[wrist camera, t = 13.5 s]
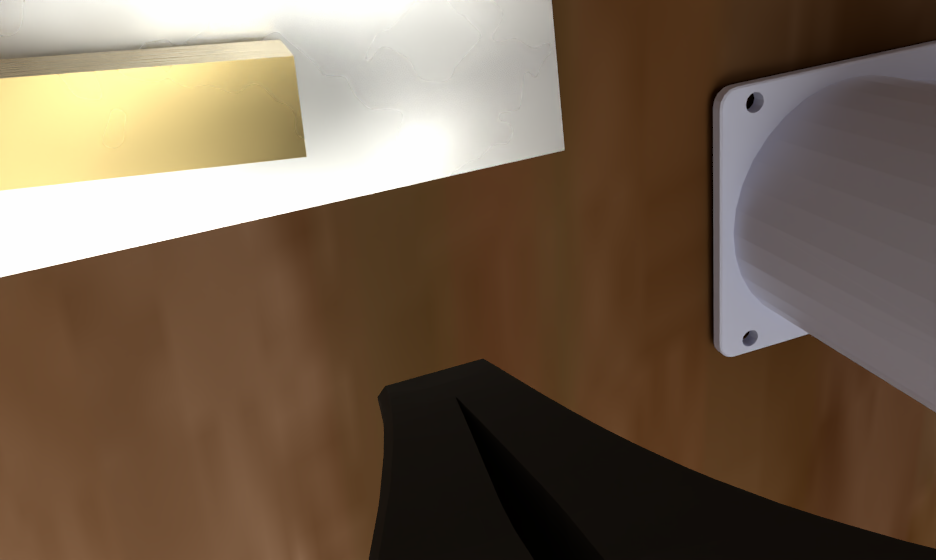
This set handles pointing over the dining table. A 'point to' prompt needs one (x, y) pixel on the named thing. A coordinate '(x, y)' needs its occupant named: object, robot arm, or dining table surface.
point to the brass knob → (146, 112)
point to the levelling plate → (322, 109)
